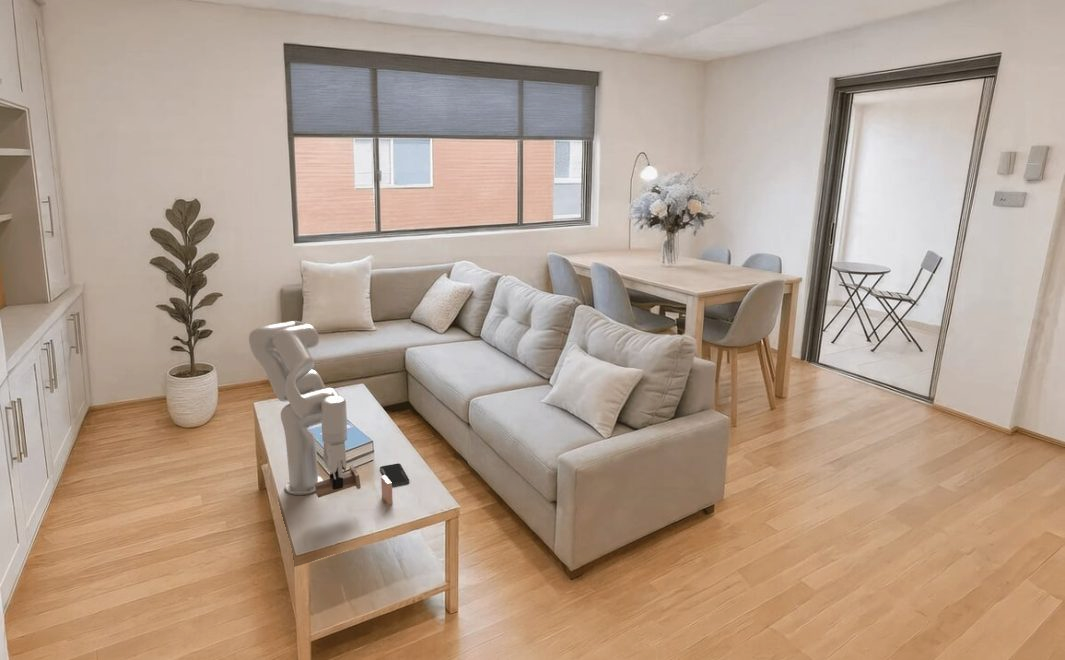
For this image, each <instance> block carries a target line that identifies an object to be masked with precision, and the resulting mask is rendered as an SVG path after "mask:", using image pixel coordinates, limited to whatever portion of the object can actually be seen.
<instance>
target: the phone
mask: <svg viewBox="0 0 1065 660" xmlns="http://www.w3.org/2000/svg"><path fill="white" fill-rule="evenodd" d="M379 471H380V473H381V476H384V475H385V476H387V477H388V479H389V480H390V481H391V482H392V488H393V486H394V487H399V486H403V484H404V485H408V484H409V483H410V479H409V476H408V475H407V473H406V472H405V469H404V467H403V466H402V464H401V463H393V464H386V465H381V466H380V467H379ZM396 485H397V486H396ZM398 485H399V486H398Z"/></svg>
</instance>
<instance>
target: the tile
mask: <svg viewBox="0 0 1065 660" xmlns="http://www.w3.org/2000/svg"><path fill="white" fill-rule="evenodd" d="M380 480H381V481H380V483H381V484H380V485H381V497H382V499H383V501H384V502H385V503H386V505H387V506H392V504H393V503H394V502H393V487H392V482H391V481H390V480H389V479H388V477H387V476H385V475H384V476H383V475H380Z"/></svg>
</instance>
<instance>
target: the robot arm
mask: <svg viewBox="0 0 1065 660" xmlns="http://www.w3.org/2000/svg"><path fill="white" fill-rule="evenodd" d="M319 342H320V336H319V333H318V331H317V329H316V328H315V327H314V326H313V325H312V324H310V323H307V322H303V321H299V320H290V321H284V322H277V323H272V324H266V325H262V326H259V327H256V328H254V329H252V331H250V332H249V336H248V344H249V347H250V351H251V353H252V355H253V356H254V358H255V359H256V360H257V362H258V363H259V364H260V365H261V367H262V368H263V370H264V372H265V374H266V376H267V379H268V381H269V383H270V385H271V386H270V387H271V388H272V390H273V392H274V395H275V396H276V398H277V399H278V401H280V402H288V404H286V405H285V406H284V407H283V408H282V409H281V411H280V420H281V423H282V427H283V431H284V437H285V444H286V445H285V447H286V453H287V454H286V456H287V466H288V467H287V469H288V480H287V481H286V483H285V485H284V488H285V489H284V490H285V491H286V492H287V493H288V494H291V495H295V496H303V495H304V496H305V495H309V494H313V493H316V489H315V483H317V482H321V481H324V479H323V477H321V476H320V475H319V472H318V471H319V467H318V456H317V454H318V453H317V441H316V437H315V435H314V434H313V433H312V432H311V431H310V430H308V429H309V428H311V427H313V426H317V425H320V424H321V436H322V437H321V438H322V442H323V462H324V463H323V464H324V465H325V467H326V469H327V470H328V471H329V479H330V478H332V483H333V490H335V489H340V488H343V474H344V472H346V470H347V453H346V443H345V442H346V441H347V440H348V419H347V418H348V417H347V402H346V399H345V398H344V397H343V396H340V395H339V392H337V390H336V389H335V388H333V387H326V386H325V383H324V381H323V379H322V377H321V375H320V374H319V373H318V372H317V370H315V369H313V368H315V360H314V358H313V356H312V354H311V353H310V350H309V349H313V348H315V347H317V346H318V344H319ZM275 349H276V350H275Z"/></svg>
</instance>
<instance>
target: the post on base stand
mask: <svg viewBox="0 0 1065 660" xmlns="http://www.w3.org/2000/svg"><path fill="white" fill-rule="evenodd" d="M352 487H356V489H357V490H360V489H362V488H361V487H362V486H361V481H360V474H359V473H358V471H357V470H356V468H355V466H354V465H353V464H351V465H349V472H346V473H343V488H340V489H335V490H333V483H332V478H330V477H329V478H327V479H323V481H321V482H317V483H315V489H316V491H315V494H316V496H317V498H322V497H325V496H328V495H331V494H334V493H338V492H340V491H343V490H346V489H350V488H352Z"/></svg>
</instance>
